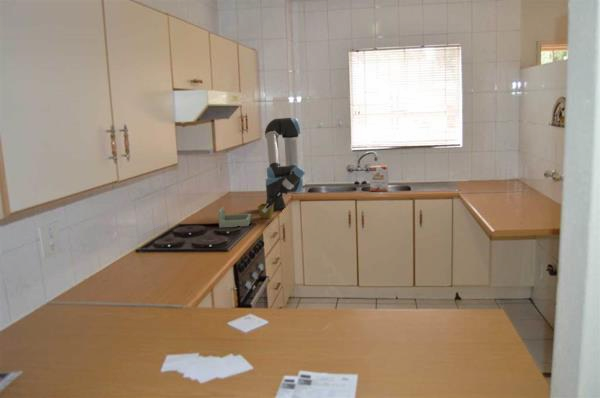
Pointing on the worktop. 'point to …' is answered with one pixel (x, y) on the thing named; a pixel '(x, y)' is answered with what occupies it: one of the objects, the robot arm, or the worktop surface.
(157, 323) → the worktop surface
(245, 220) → the pale green open box
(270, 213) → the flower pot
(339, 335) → the worktop surface
